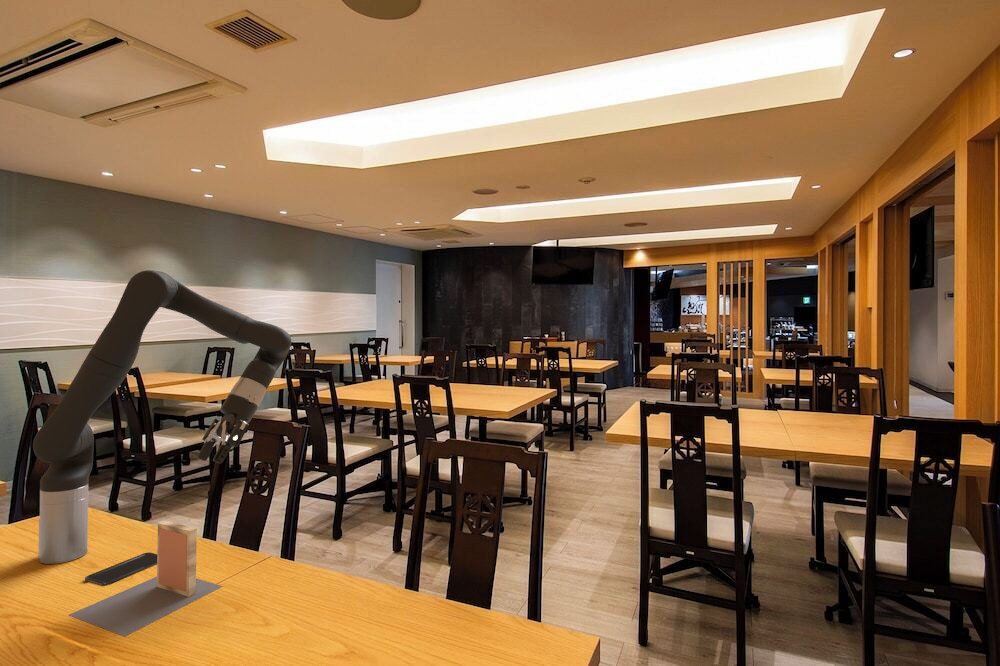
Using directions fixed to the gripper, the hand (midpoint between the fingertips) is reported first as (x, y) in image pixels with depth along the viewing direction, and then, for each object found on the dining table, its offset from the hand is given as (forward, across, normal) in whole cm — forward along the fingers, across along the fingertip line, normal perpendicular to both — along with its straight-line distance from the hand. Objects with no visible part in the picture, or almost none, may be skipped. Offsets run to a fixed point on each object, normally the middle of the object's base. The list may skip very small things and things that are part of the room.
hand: (208, 460), depth 127 cm
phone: (+28, -15, +3) cm, 31 cm away
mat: (+30, +4, +2) cm, 30 cm away
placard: (+26, +4, +6) cm, 28 cm away
